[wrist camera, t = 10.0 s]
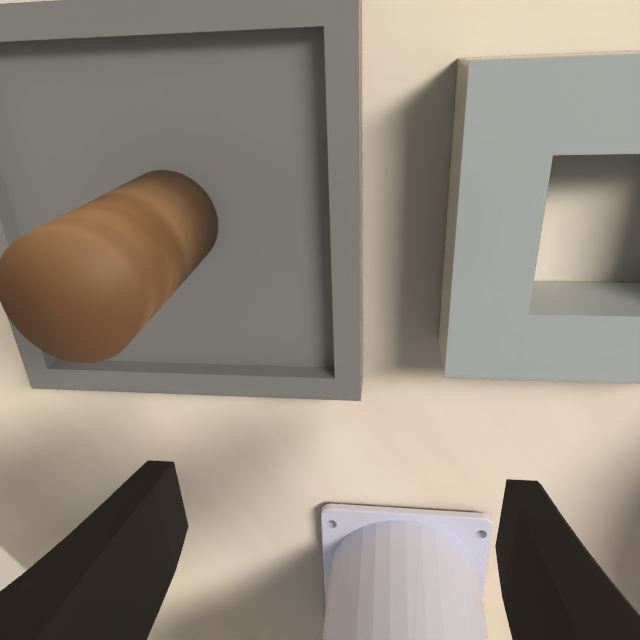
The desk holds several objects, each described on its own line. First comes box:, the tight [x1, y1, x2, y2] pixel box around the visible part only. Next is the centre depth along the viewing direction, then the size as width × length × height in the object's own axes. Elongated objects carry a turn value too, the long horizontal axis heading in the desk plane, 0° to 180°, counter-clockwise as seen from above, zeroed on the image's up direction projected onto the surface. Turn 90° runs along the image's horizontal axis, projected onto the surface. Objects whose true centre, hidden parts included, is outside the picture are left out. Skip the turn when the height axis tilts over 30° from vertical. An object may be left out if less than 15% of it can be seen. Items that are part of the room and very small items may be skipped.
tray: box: [0, 0, 363, 401], centre depth 19 cm, size 14×14×2 cm
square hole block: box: [438, 51, 640, 384], centre depth 17 cm, size 10×10×3 cm
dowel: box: [0, 170, 218, 363], centre depth 16 cm, size 4×4×7 cm
